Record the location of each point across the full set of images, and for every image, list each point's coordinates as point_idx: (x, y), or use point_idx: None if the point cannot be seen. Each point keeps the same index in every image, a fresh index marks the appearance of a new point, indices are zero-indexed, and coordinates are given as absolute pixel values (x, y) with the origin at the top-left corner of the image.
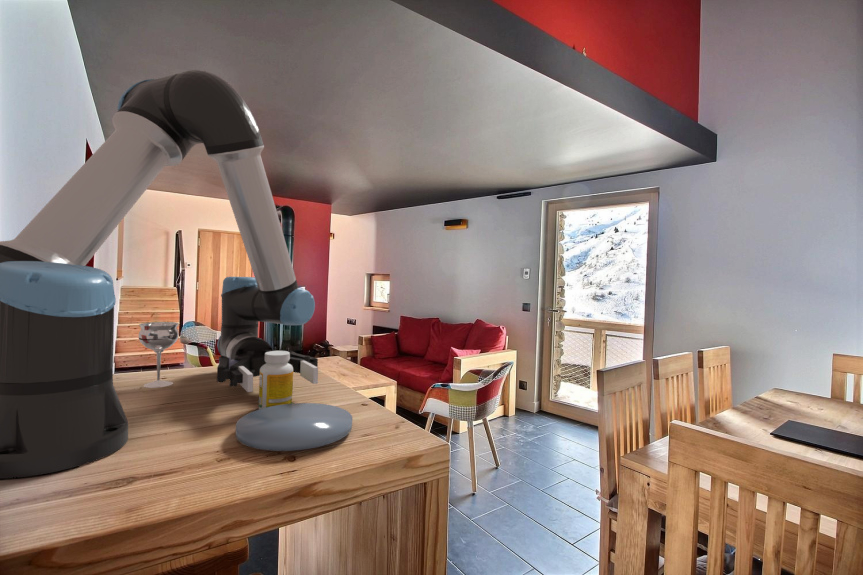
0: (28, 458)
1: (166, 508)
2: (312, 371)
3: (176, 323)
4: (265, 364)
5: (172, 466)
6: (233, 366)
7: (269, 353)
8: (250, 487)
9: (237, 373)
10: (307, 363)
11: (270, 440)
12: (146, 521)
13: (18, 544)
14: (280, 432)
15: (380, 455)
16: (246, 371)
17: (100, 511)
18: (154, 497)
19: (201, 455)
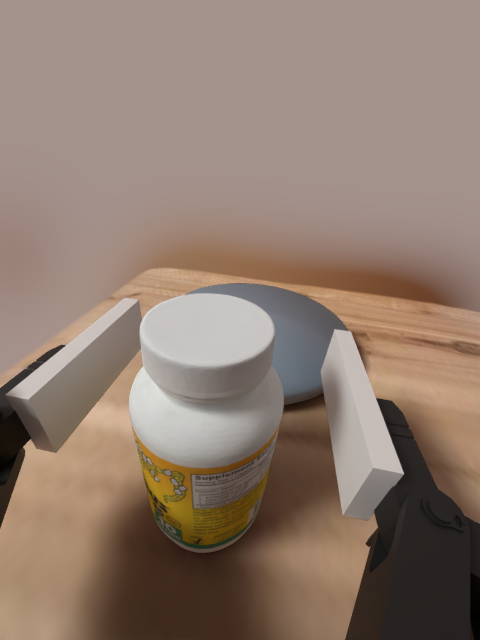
0: None
1: (398, 303)
2: (135, 317)
3: None
4: (257, 393)
5: (421, 349)
6: (441, 500)
7: (253, 327)
8: (335, 294)
9: (389, 417)
10: (81, 343)
11: (311, 300)
12: (407, 300)
13: None
14: (294, 306)
15: (214, 277)
16: (355, 362)
17: (453, 320)
18: (415, 316)
19: (390, 354)
